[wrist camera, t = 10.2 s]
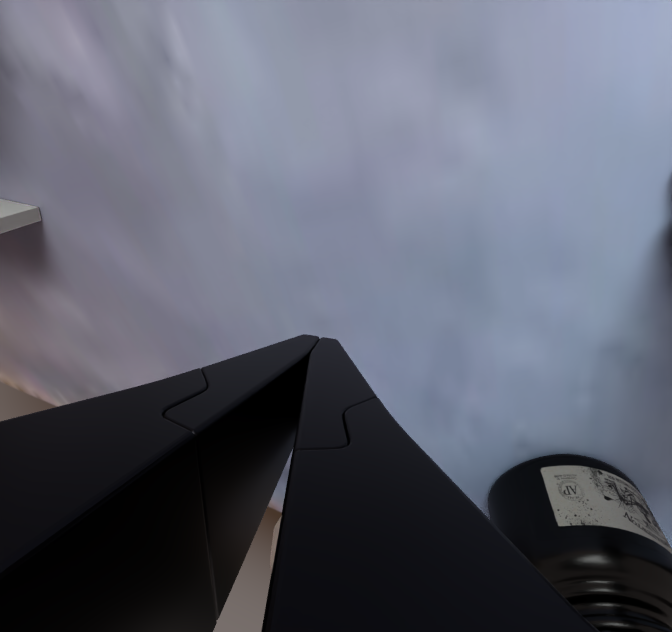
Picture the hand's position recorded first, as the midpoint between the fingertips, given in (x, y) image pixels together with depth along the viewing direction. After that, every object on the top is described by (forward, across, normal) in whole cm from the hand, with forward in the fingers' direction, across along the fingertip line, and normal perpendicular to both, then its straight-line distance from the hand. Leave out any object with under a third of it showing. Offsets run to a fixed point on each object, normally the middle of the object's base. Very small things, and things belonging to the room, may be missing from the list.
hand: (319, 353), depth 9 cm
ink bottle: (+12, +15, -16) cm, 25 cm away
